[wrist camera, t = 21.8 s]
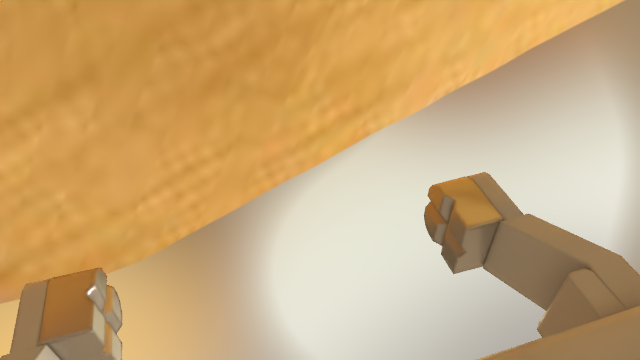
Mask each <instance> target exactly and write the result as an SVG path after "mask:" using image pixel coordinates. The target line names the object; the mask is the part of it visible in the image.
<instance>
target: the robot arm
mask: <svg viewBox="0 0 640 360" xmlns="http://www.w3.org/2000/svg"><path fill="white" fill-rule="evenodd" d="M428 197H429V198H430V200H431V202H430V203H429V204H428V205H427V206H426V208H425V214H424V219H425V225H426V228H427V231H428V233H429V235H430V237H431V238H432V240H433V241H434V242H436V243H438V244H440V245H442V252H441V255H442V256H443V258H444V260H445V261H446V263H447V264H448V266H449V268H450V269H451V271H452V272H453V274H455V273H459V272H463V271H467V270H471V269H475V268H478V267H482V266H483V268H484V269H485V270H487V271H488V272H490V273H491V274H492V275H494V276H495V277H497V278H499V279H500V280H501V281H503V282H504V283H506V284H507V285H509V286H510V287H512V288H514V289H515V290H516V291H518V292H519V293H521V294H522V295H524V296H525V297H527V298H528V299H530V300H531V301H533V302H534V303H536V304H537V305H539V306H540V307H542V308H543V309H544V310H546V312H545V314H544V316H543V317H542V319H541V321H540V322H539V325H538V327H537V330H538V332H539V333H540V334H541V336H542V338H540V339H537V340H534V341H531V342H528V343H525V344H522V345H519V346H516V347H513V348H510V349H507V350H504V351H501V352H498V353H495V354H492V355H489V356H486V357H483V358H480V359H477V360H640V275H639V274H638V273H637V272H636V271H635V270H634V269H633V268H632V267H631V266H630V265H629V264H628V263H627V262H626V261H625V259H623V258H622V256H620V255H618V254H616V253H614V252H611V251H609V250H607V249H605V248H603V247H601V246H598V245H596V244H594V243H592V242H590V241H587V240H585V239H583V238H581V237H579V236H577V235H574V234H572V233H570V232H568V231H566V230H563V229H561V228H559V227H557V226H555V225H552V224H550V223H548V222H546V221H544V220H542V219H539V218H537V217H535V216H533V215H531V214H525V215H523V213H522V212H521V211H520V210H519V209H518V207H517V206H516V205H515V204H514V203H513V201H512V200H511V199H510V198H509V197H508V196H507V194H506V193H505V192H504V191H503V190H502V189H501V188H500V186H499V185H498V184H497V183H496V181H495V180H494V179H493V178H492V177H491V176H490V175H489V174H488V173H486V172H483V173H479V174H475V175H471V176H467V177H462V178H458V179H454V180H450V181H446V182H443V183H439V184H435V185H432V186H431V187H430V189H429V193H428ZM106 279H107V276H106V274H105V273H104V271H103V270H102V268H95V269H91V270H86V271H82V272H77V273H73V274H68V275H63V276H59V277H54V278H51V279H46V280H42V281H38V282H33V283H29V284H26V286H25V287H24V289H23V291H22V293H21V298H20V303H19V309H18V314H17V319H16V324H15V329H14V334H13V340H12V345H11V350H10V354H7V355H4V356H2V357H1V358H0V360H122V342H121V340H120V339H119V337H118V336H117V332H118V331H119V329H120V328H121V326H122V310H121V304H120V300H119V297H118V295H117V292H116V291H115V289H114V287H112V286H109V285H107V284H106V283H107V280H106Z"/></svg>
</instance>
